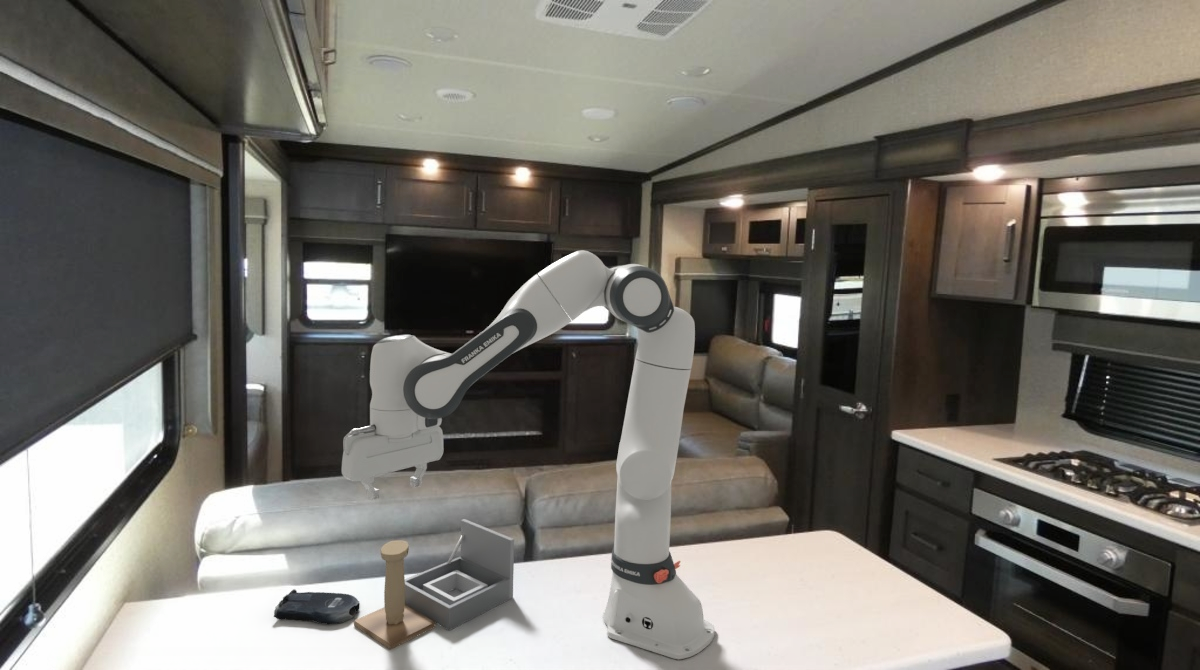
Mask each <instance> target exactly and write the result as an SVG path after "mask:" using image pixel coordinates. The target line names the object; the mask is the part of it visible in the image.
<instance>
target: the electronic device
mask: <svg viewBox="0 0 1200 670" xmlns="http://www.w3.org/2000/svg"><path fill="white" fill-rule="evenodd" d="M360 606H361V605H360V601H359V600H358V598H357V597H355V596H354V595H352V594H349V593H348V594H347V593H341V592H340V593H339V592H321V591H319V592H313V591H306V592H297V590H296V589H295V588H294V589H292V590H291V591H290V592H289V593H288V594H286V595H285V596H283V597H282V600H279V603H278V604H277V605H276V606H275V609H274V610H273V613H274V614H273V618H275V619H276V620H278V619H281V620H286V621H301V622H314V623H317V624H322V625H323V624H325V625H329V626H330V625H337V624H342V623H344V622H347V621H349V620H351V619H352V618H353V617H354V618H355V619H357V615H358V613H359V611H360ZM352 608H353V609H354V611H355V612H354V614H353V615H351V614H350V611H351V609H352Z"/></svg>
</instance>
